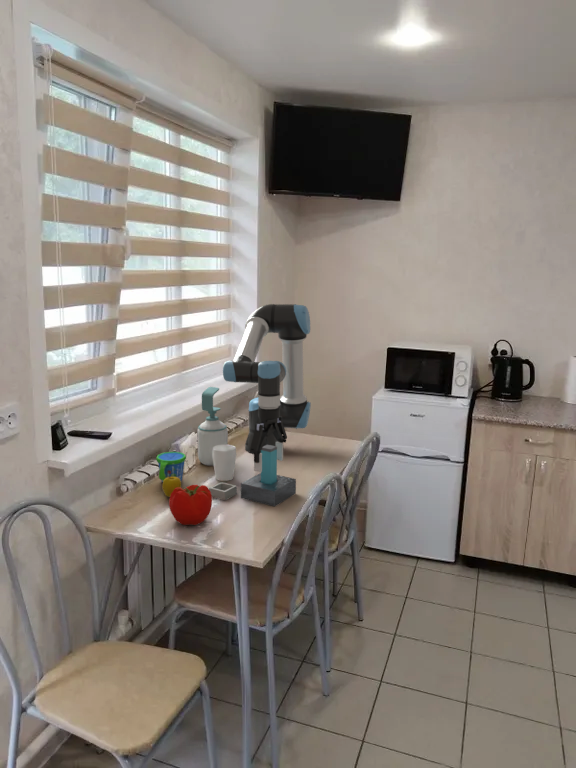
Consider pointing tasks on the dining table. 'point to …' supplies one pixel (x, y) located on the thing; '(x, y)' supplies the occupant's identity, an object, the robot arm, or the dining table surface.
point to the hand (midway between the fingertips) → (268, 465)
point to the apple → (170, 485)
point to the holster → (223, 490)
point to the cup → (224, 461)
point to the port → (268, 490)
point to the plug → (269, 464)
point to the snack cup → (171, 465)
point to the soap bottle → (210, 429)
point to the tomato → (190, 504)
